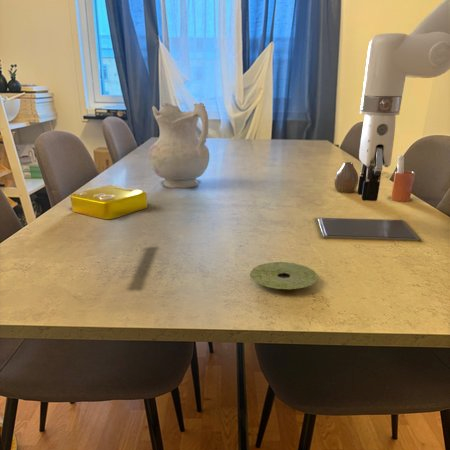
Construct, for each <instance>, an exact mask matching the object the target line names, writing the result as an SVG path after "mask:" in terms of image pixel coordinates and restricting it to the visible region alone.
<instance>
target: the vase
mask: <svg viewBox="0 0 450 450" xmlns="http://www.w3.org/2000/svg"><path fill="white" fill-rule="evenodd" d="M333 182H334V188H335V190H336V192H338V193H344V194H351V193H354V192H355V191H356V189H357V188H358V183H359V174H358V171H357V169H356V168H355V166H354V163H353V162H349V161H345V162H344V163H343V164H342V166H341V167H340V168H339V169H338V171H337V172H336V173H335V177H334V181H333Z"/></svg>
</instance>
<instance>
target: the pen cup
mask: <svg viewBox="0 0 450 450" xmlns="http://www.w3.org/2000/svg"><path fill="white" fill-rule="evenodd" d="M415 175H416V173H415V172H414V171H412V170H411V171H410V170H404V174H402V173H398V170H395V172H394V177H393V183H392V189H391V193H390V194H391V195H390V200H391V201H395V202H402V203H403V202H409V201H410V200H411V196H412V191H413V185H414V182H415V181H414V180H415Z"/></svg>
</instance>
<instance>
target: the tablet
mask: <svg viewBox="0 0 450 450" xmlns="http://www.w3.org/2000/svg"><path fill="white" fill-rule="evenodd" d="M317 222H318V225H319V229H320V231H321V235H322V238H323V239H335V240H336V239H338V240H339V239H340V240H365V241H366V240H367V241H369V240H370V241H399V242H400V241H401V242H420V241H421V238H419V237H418V236H417V234H416V233H415V232H414V231H413V230H412V229H411V227H409V225H408V224H407V223H406V222H405V221H404V220H403V219H381V218H379V219H378V218H376V219H375V218H343V217H341V218H339V217H317Z"/></svg>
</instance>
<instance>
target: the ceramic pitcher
mask: <svg viewBox="0 0 450 450" xmlns="http://www.w3.org/2000/svg"><path fill="white" fill-rule="evenodd" d="M193 106H194V109H193V110H192V111H186V110H185V111H182V110H181V109H180V107H179V106H178V105H174V104H172V103H169V102H168V103H166V102H165V103H164V104H162V105H161V107H160V109H159V110H158V109H157V107H156V106H155V105H152V113H153V117H154V120H155V121H156V122H157V125H158V129H159V136H158V138H157V140H156V141H155V142H154V143H153V144H152V145H151V146H150V147H149V149H148V161H149V165H150V167H151V169H152V170H153V172H154V173H155V174H156V176H158V177H159V178H162V179H164V181H163V186H164V187H166V188H169V189H191V188H194V187H198V186H199V182H198V181H197V179H198V178H200V177H202V176H203V175H204V173H205V172H206V170H207V168H208V166H209V162H210V151H209V148H208V147H207V145H206V142H207V137H208V135H209V114H208V112H207V110H206V106H205V103H203V102H200V103H194V104H193ZM199 118H200V122H201V126H202V128H201V132H200V135H199V136H197V132H196V130H197V125H198V121H199Z"/></svg>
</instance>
